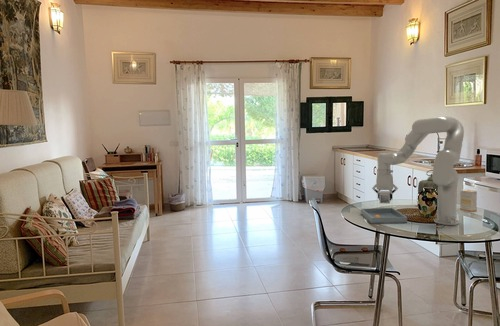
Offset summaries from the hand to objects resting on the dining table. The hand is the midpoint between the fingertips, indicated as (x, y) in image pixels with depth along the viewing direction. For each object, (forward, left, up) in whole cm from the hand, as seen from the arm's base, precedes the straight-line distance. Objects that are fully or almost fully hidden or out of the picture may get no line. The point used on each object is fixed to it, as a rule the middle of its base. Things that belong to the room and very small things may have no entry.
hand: (385, 199), depth 228 cm
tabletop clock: (+17, -36, -9) cm, 41 cm away
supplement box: (+3, -53, -9) cm, 54 cm away
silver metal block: (0, 0, -1) cm, 1 cm away
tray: (-13, +6, -9) cm, 17 cm away
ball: (-22, +11, -6) cm, 25 cm away
